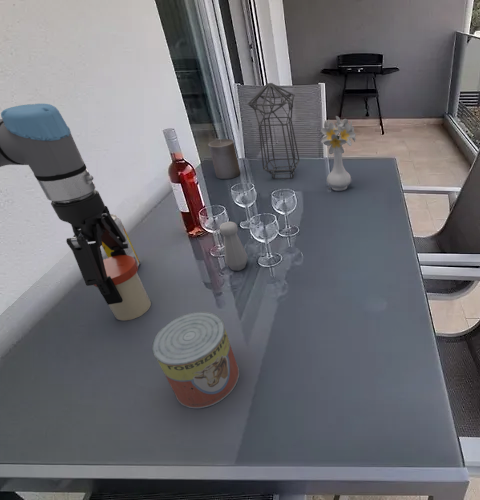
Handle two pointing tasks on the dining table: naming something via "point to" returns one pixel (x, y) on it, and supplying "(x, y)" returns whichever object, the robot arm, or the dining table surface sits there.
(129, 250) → the beer can
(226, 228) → the salt shaker
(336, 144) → the flower vase
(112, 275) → the lid
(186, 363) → the canned food
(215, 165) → the pillar candle
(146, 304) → the jam jar
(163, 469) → the dining table surface
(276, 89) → the geometric lantern
